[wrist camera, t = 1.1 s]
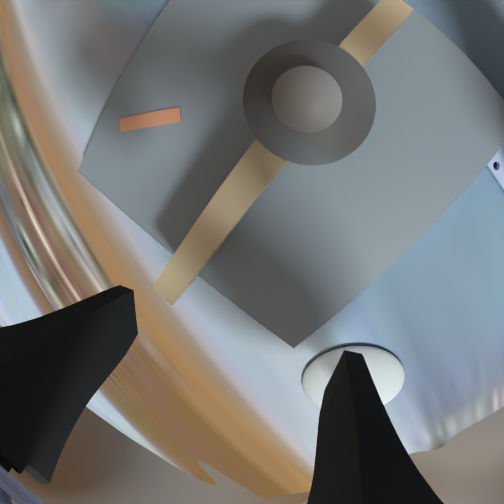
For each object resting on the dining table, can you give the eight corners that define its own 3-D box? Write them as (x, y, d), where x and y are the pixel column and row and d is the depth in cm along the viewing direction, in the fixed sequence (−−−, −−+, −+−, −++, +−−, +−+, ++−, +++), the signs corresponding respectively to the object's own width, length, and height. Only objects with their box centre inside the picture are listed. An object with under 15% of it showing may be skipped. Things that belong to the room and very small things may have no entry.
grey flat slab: (507, 121, 12) (520, 122, 10) (287, 341, 22) (283, 355, 21) (250, -70, 10) (243, -81, 9) (87, 177, 21) (73, 182, 19)
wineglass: (424, 373, 20) (430, 622, 2) (354, 421, 25) (321, 623, 6) (350, 325, 20) (302, 653, 2) (282, 385, 24) (205, 615, 6)
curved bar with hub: (349, -7, 10) (353, -53, 6) (427, 53, 11) (464, 29, 6) (157, 245, 19) (112, 282, 15) (217, 293, 20) (185, 343, 15)
